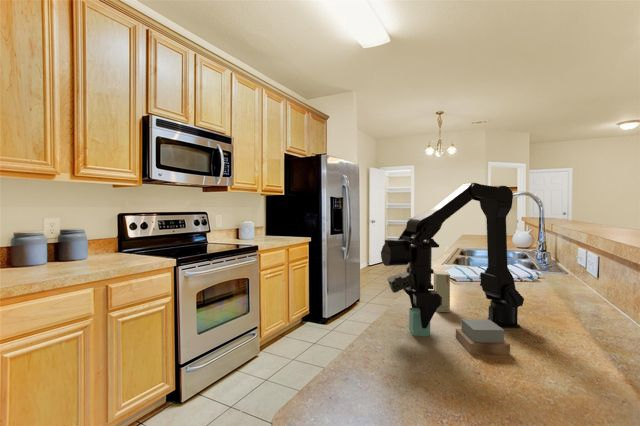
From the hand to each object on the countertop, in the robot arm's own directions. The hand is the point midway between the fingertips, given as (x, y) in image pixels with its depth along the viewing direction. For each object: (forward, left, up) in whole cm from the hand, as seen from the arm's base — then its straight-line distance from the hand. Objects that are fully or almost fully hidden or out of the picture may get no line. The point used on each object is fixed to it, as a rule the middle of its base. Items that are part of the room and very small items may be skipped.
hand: (419, 321), depth 89 cm
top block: (-13, +8, 0) cm, 15 cm away
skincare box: (-12, -20, -3) cm, 24 cm away
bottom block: (-13, +8, -3) cm, 16 cm away
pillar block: (0, 0, -3) cm, 3 cm away
